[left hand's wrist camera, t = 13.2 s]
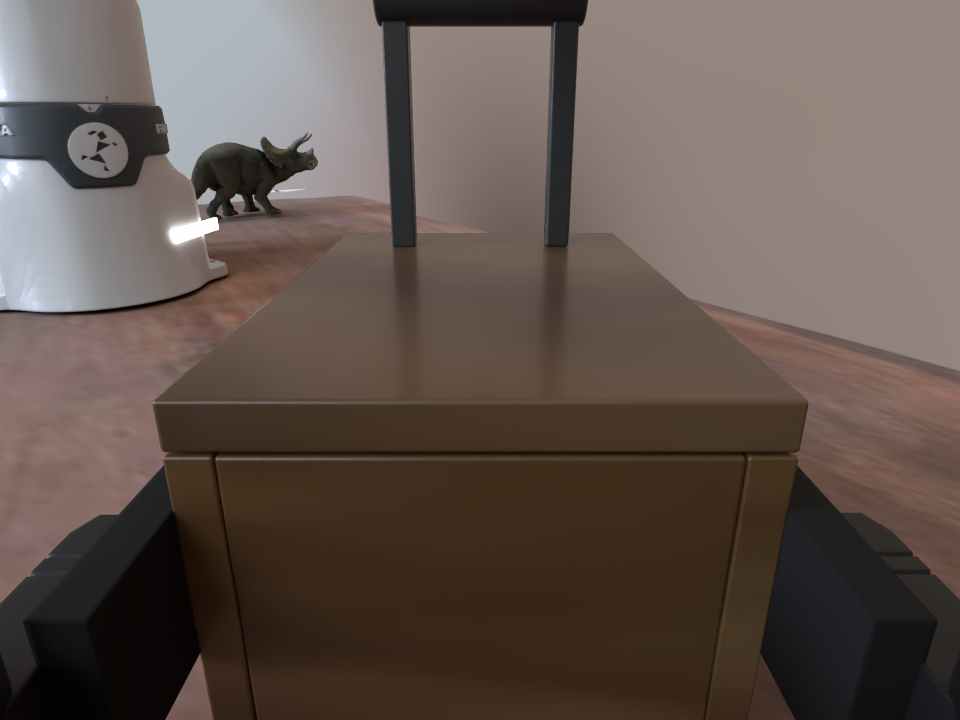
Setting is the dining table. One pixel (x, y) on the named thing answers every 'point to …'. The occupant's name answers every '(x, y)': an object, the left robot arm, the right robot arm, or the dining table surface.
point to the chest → (480, 582)
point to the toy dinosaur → (247, 173)
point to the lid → (480, 323)
